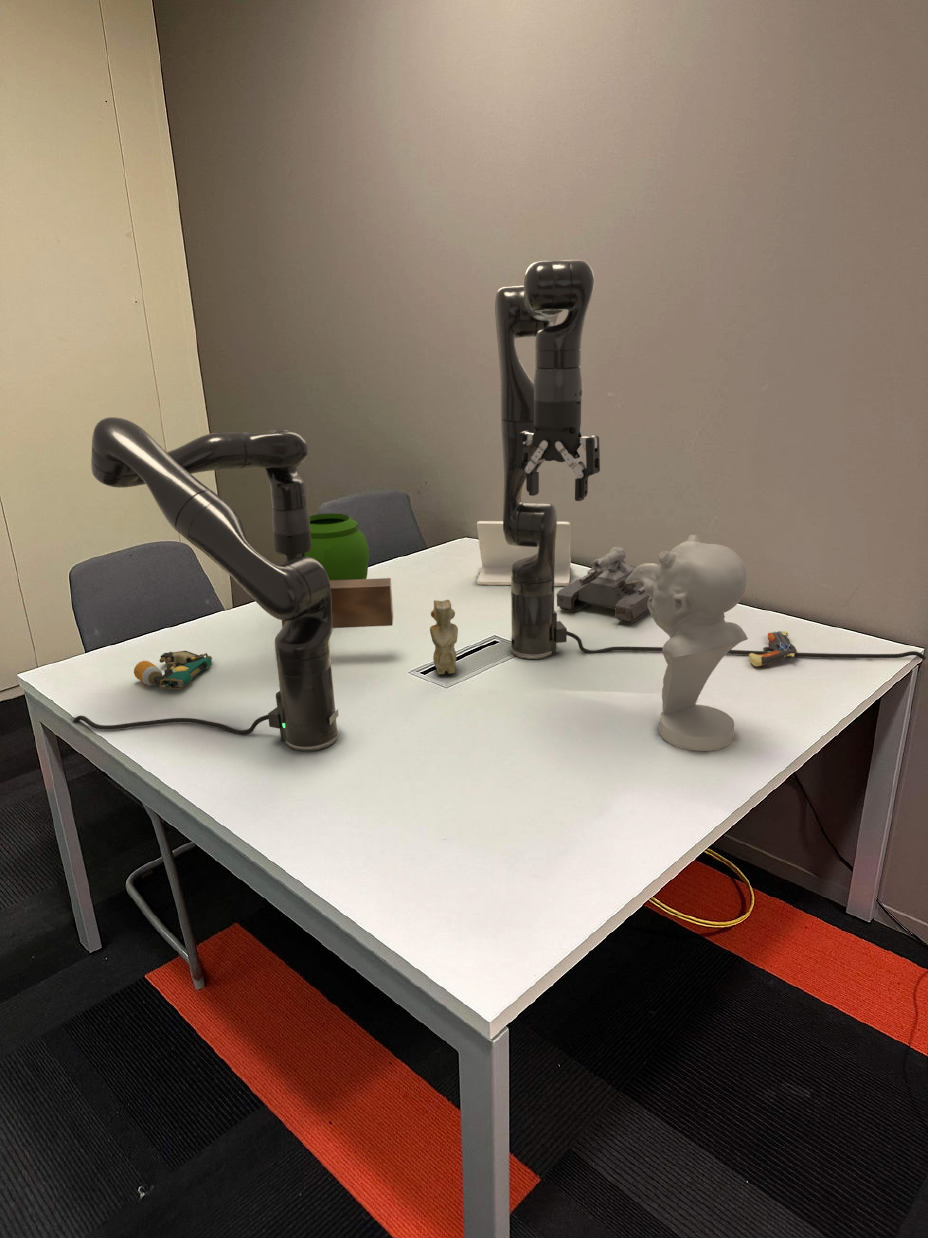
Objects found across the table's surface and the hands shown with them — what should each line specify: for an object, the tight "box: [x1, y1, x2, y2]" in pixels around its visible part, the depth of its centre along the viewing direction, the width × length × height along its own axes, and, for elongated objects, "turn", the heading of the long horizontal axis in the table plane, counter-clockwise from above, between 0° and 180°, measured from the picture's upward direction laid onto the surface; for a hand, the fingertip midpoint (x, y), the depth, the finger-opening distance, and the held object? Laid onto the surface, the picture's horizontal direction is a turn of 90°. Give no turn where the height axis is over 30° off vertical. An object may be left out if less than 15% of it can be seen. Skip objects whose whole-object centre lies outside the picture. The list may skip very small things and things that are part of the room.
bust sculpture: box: [625, 534, 749, 752], centre depth 149 cm, size 16×24×35 cm
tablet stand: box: [476, 520, 572, 587], centre depth 236 cm, size 18×25×17 cm
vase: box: [305, 512, 370, 581], centre depth 209 cm, size 20×20×24 cm
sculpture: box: [429, 599, 459, 675], centre depth 177 cm, size 6×7×15 cm
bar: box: [281, 577, 394, 629], centre depth 182 cm, size 23×5×9 cm, turn 93°
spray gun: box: [133, 650, 213, 690], centre depth 180 cm, size 4×17×15 cm
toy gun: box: [748, 630, 799, 667], centre depth 183 cm, size 3×19×10 cm
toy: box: [556, 546, 650, 624], centre depth 212 cm, size 25×20×15 cm
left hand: (298, 605), depth 181 cm, fingers closed on bar, 5 cm apart
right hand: (556, 497), depth 141 cm, fingers open, 8 cm apart
